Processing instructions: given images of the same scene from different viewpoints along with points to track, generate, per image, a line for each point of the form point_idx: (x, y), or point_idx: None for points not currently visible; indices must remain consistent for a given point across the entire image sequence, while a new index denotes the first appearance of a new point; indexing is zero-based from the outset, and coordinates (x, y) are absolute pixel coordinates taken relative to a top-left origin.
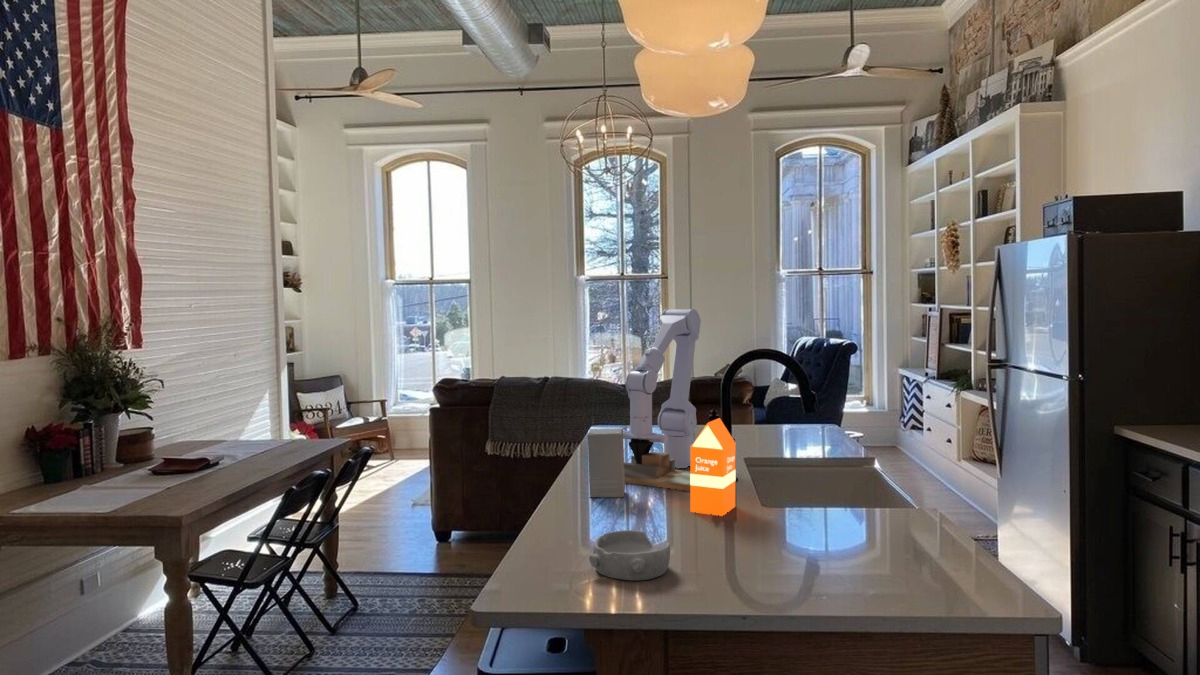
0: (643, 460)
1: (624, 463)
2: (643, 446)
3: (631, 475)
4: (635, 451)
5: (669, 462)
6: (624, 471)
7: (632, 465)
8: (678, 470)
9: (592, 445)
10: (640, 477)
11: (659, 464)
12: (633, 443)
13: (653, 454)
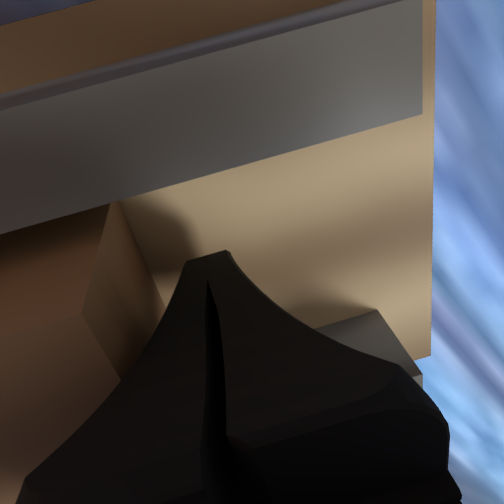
0: (66, 276)
1: (274, 86)
2: (39, 477)
3: (130, 57)
4: (253, 345)
5: None
6: (225, 36)
7: (101, 80)
8: None
9: None
10: (16, 88)
11: None
12: (292, 438)
13: (40, 449)
